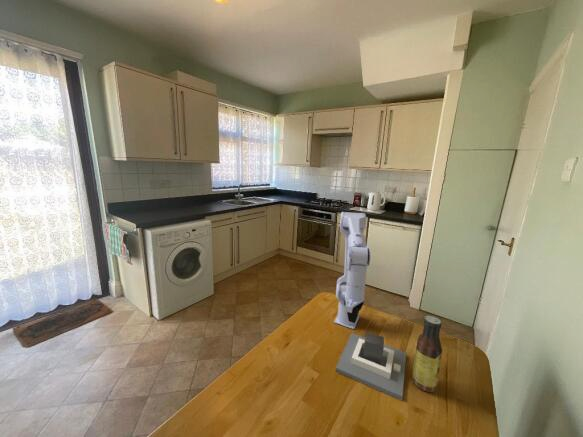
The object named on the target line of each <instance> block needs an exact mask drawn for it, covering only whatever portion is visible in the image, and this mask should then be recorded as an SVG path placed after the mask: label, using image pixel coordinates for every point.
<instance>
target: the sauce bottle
mask: <svg viewBox="0 0 583 437" xmlns="http://www.w3.org/2000/svg"><path fill="white" fill-rule="evenodd" d="M423 323H424V324H423V325H424V326H423V330H422V332H421V333H420V334H419V335H418V336H417V339H416V340H417V341H416V345H415V352H414V359H413V365H412V374H411V375H412V376H411V377H412V382H413V384H414V385H415V386H416V387H417V388H419V389H420V390H421V391H424V392H428V393H432V392H434V391H436V388H437V386H438V382H439V375H440V368H441V363H442V356H443V348H442V347H443V346H442V343H441V339H440V330H441V328H442V321H441V319H439V318H438V317H436V316H433V315H426V316H424V319H423Z"/></svg>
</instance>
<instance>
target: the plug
mask: <svg viewBox="0 0 583 437" xmlns="http://www.w3.org/2000/svg"><path fill="white" fill-rule="evenodd" d="M364 338H365V343H364V352H363V359H367V360H369V361H371V362H373V363H375V362H377V363H380V364H382V357H383V349H384V345H385V337H384V336H382V335H377V334H374V333H370V332H366V331H365V337H364Z"/></svg>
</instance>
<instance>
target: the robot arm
mask: <svg viewBox="0 0 583 437" xmlns="http://www.w3.org/2000/svg"><path fill="white" fill-rule="evenodd" d="M339 218H340V220H339V231H340V234H342V235H343V236H344V239H345V240H344V241H345V244H344V246H345V247H344V248H345V249H344V274H343V275H341V276H339V277H338V278H337V280H336V286H335V288H336V289H335V298H336V299H337V300H338V305H337V306H338V308H337V309H338V310H337V315H336V317H335V319H334V320H333V322H334V323H335V324H336V325H340V326H343V327H346V328H349V329H352V330H354V329H355V328H356V326H357V323H358V322H359V319H360V315H359V313H360V311H361V309H362V307H363V306H364V304H365V290H366V289H365V288H366V279H367V272H368V271H367V270H368V267H369V266H370V264H371V263H370V262H371V249H370V247H369V246H368V245H367V242H366V237H365V235H364V231H365V228H366V226H367V215H366V212H347V211H346V212H345V211H341V213H340V217H339Z"/></svg>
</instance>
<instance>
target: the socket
mask: <svg viewBox="0 0 583 437" xmlns="http://www.w3.org/2000/svg"><path fill="white" fill-rule="evenodd" d="M364 343H365V337H364V336H361V335H358V334H355V333H352V332H351V334H350V336H349V338H348V340H347V342H346V345H345V347H344V349H343V351H342V353H341V355H340V358H339V360H338V361H337V365H336V367H335V372H337V373H339V374H341V375H344V376H346V377H348V378H350V379H353V380H355V381H357V382H359V383H362V384H364V385H366V386H369V387H371V388H373V389H375V390H377V391H380V392H381V393H382V392H383V393H385V394H387V395H389V396H391V397H394V398H396V399H398V400H400V401H402V400H403V394H404V383H405V382H404V381H405V372H406V361H407V360H406V359H407V352H406V351H404V350H401V349H398V348H395V347H392V346H390V345H387V344H384V349H383V357H382V364H380V363H377V362H375V363H373V362H371V361H369V360H367V359H363V352H364Z"/></svg>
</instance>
